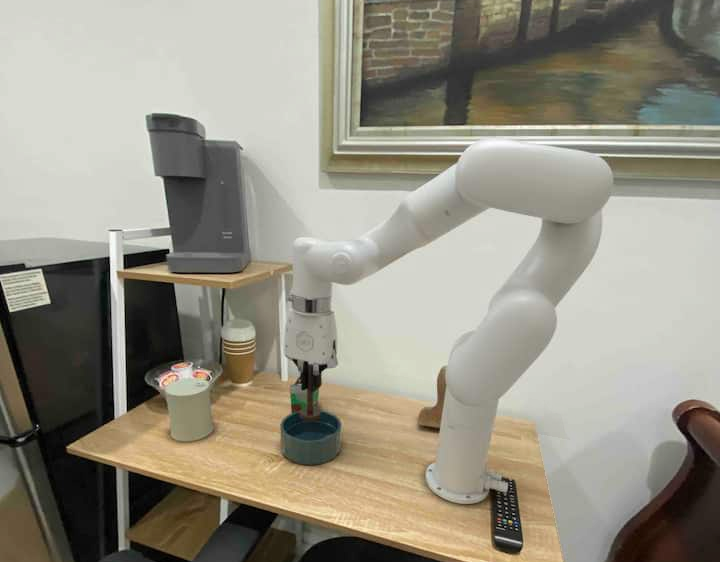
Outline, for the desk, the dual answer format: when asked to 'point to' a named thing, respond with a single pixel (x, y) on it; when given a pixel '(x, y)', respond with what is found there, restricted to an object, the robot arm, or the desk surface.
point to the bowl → (310, 438)
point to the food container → (301, 397)
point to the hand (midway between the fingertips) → (310, 388)
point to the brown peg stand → (309, 401)
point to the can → (189, 409)
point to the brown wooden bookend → (434, 414)
